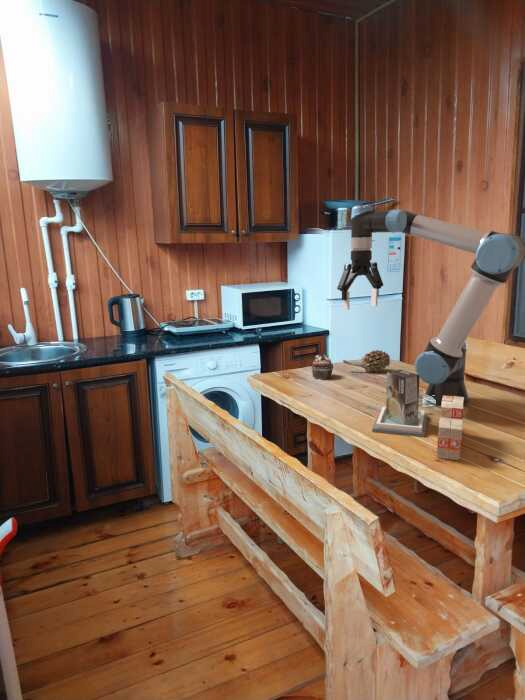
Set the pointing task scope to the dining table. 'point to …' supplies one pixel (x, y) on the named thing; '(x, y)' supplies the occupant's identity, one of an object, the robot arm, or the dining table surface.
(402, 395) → the coffee box
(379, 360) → the pine cone
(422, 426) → the holder board
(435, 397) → the robot arm
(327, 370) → the cupcake
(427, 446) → the dining table surface
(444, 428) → the stack of blocks
